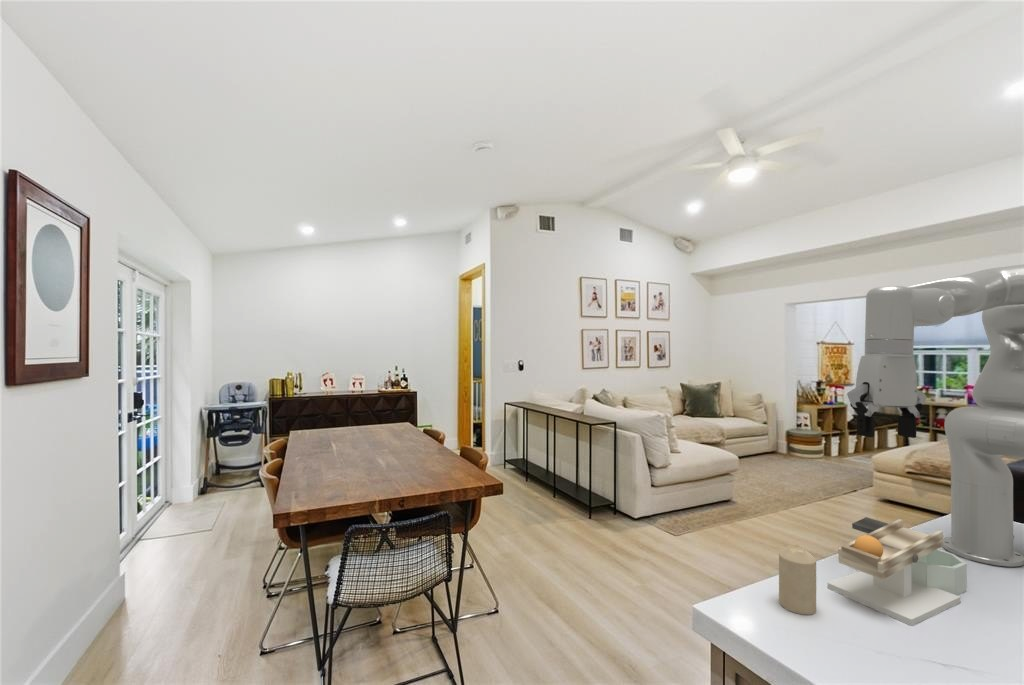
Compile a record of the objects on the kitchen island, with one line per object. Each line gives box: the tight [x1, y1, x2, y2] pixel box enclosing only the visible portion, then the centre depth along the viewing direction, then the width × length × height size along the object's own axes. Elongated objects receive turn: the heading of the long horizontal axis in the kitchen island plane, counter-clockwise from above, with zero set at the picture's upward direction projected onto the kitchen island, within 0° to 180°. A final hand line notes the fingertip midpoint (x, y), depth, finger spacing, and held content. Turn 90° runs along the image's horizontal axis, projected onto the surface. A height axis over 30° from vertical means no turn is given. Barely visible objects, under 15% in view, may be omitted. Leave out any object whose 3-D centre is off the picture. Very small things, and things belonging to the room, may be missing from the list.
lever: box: [837, 516, 944, 580], centre depth 87 cm, size 20×13×3 cm, turn 115°
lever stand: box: [826, 564, 961, 626], centre depth 84 cm, size 16×13×7 cm
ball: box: [854, 534, 883, 558], centre depth 81 cm, size 4×4×4 cm
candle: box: [778, 544, 817, 616], centre depth 81 cm, size 6×6×10 cm
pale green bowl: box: [911, 548, 968, 596], centre depth 90 cm, size 10×10×5 cm
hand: (886, 436), depth 92 cm, fingers open, 9 cm apart
